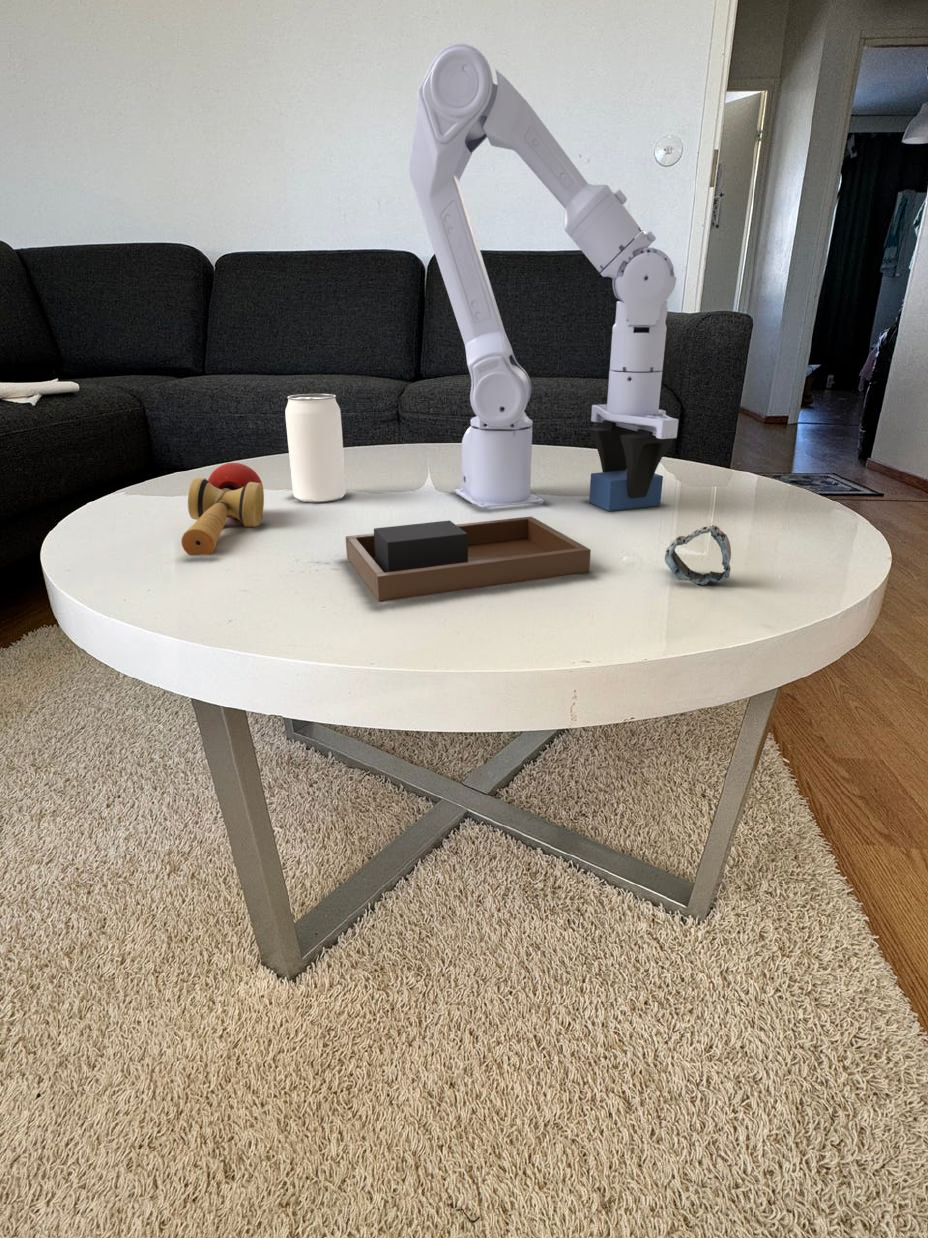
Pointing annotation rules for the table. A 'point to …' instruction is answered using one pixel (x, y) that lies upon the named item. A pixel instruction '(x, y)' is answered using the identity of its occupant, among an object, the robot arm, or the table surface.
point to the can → (315, 447)
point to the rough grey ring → (686, 574)
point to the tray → (477, 560)
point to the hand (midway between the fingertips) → (625, 492)
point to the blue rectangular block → (621, 491)
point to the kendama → (222, 505)
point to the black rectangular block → (420, 546)
